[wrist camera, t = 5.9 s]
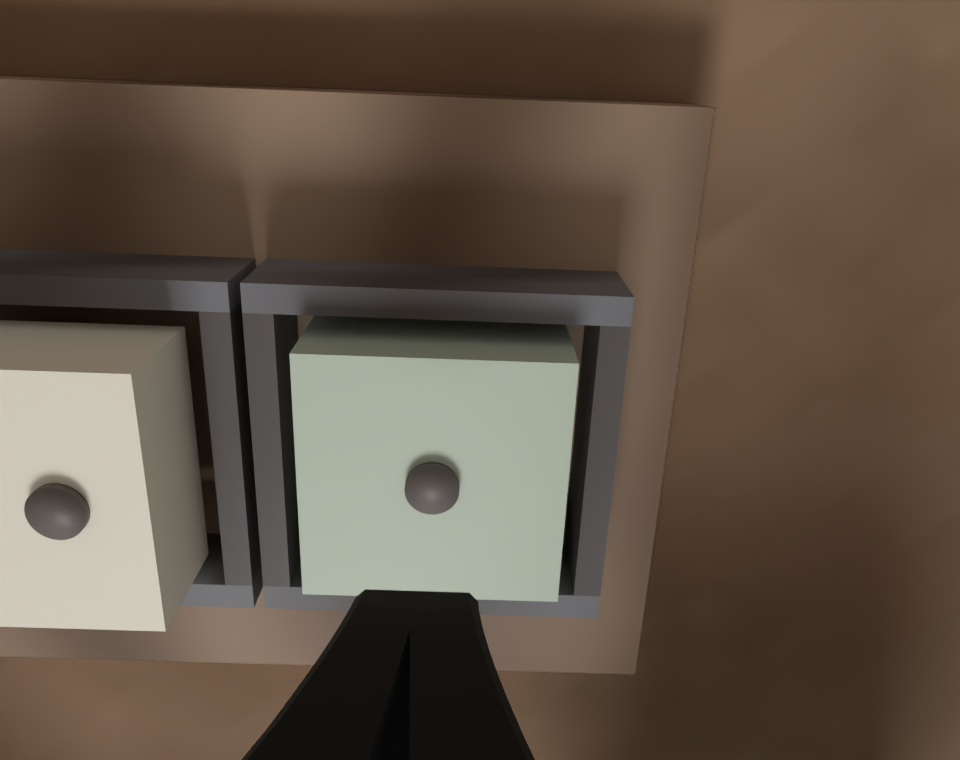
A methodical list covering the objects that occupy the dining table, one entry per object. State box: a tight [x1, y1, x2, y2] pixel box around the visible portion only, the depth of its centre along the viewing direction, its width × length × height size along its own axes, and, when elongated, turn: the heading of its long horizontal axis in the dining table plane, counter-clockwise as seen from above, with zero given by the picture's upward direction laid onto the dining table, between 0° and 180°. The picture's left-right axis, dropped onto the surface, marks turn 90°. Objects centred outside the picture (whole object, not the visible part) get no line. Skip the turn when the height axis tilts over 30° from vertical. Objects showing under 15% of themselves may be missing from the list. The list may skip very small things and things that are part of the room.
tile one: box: [289, 316, 579, 602], centre depth 14 cm, size 4×4×2 cm
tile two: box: [0, 320, 209, 632], centre depth 13 cm, size 4×4×2 cm
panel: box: [0, 76, 715, 674], centre depth 15 cm, size 22×12×3 cm, turn 88°
